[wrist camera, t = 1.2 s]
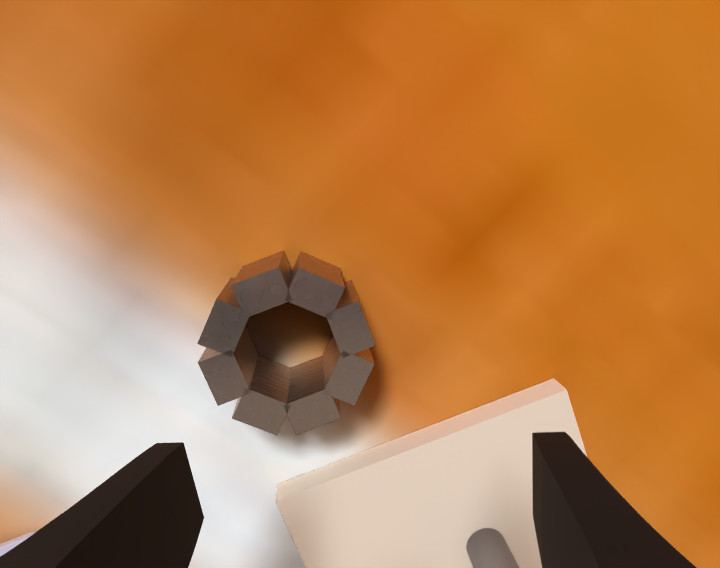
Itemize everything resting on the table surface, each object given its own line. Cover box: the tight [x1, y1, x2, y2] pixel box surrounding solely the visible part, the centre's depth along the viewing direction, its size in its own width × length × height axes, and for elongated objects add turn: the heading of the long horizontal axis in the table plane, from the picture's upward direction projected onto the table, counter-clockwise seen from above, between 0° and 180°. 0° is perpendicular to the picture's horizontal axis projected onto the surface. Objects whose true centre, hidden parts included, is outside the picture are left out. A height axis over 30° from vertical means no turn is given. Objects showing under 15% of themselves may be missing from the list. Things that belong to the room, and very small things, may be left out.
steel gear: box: [198, 251, 376, 435], centre depth 20 cm, size 6×6×3 cm
